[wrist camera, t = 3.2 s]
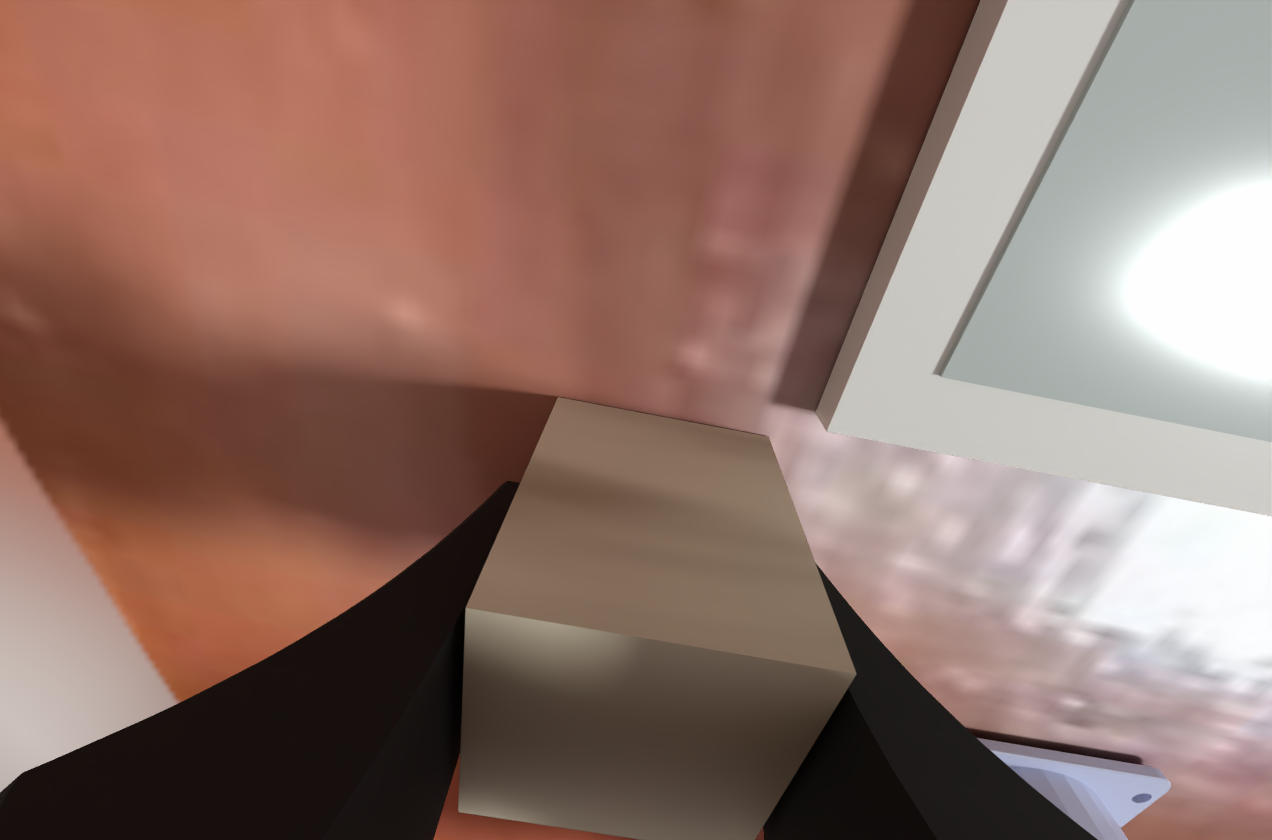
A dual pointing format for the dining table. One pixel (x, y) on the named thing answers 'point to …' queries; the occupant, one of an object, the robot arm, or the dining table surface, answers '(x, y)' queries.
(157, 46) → the dining table surface
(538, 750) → the metal block
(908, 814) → the robot arm
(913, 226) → the plate
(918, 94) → the dining table surface
